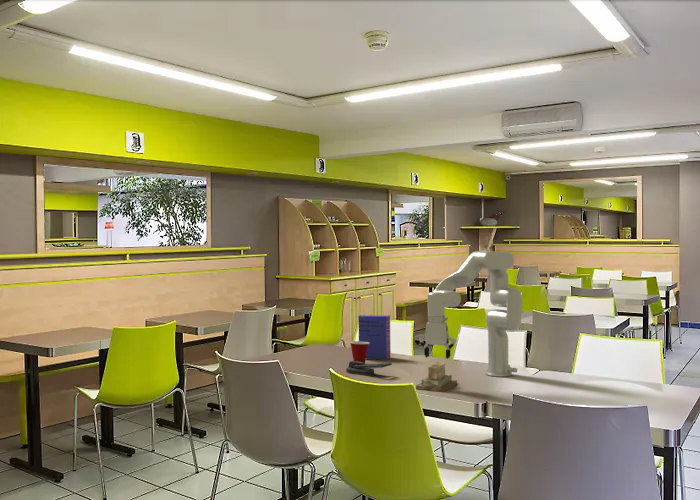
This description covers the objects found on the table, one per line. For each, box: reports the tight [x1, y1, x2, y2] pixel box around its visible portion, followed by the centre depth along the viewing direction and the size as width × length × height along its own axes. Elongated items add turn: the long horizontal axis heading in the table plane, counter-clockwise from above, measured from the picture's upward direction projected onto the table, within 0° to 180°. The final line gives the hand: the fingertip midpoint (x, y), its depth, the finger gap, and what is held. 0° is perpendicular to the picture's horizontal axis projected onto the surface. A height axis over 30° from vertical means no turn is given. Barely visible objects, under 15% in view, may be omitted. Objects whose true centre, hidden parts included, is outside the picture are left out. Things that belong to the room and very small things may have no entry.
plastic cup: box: [349, 340, 370, 364], centre depth 338 cm, size 11×11×12 cm
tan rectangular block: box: [427, 362, 446, 381], centre depth 283 cm, size 4×12×8 cm, turn 153°
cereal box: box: [358, 314, 392, 360], centre depth 355 cm, size 17×5×24 cm, turn 82°
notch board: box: [415, 373, 458, 393], centre depth 283 cm, size 13×18×4 cm
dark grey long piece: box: [345, 360, 393, 376], centre depth 311 cm, size 9×7×25 cm
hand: (437, 357), depth 283 cm, fingers open, 9 cm apart
